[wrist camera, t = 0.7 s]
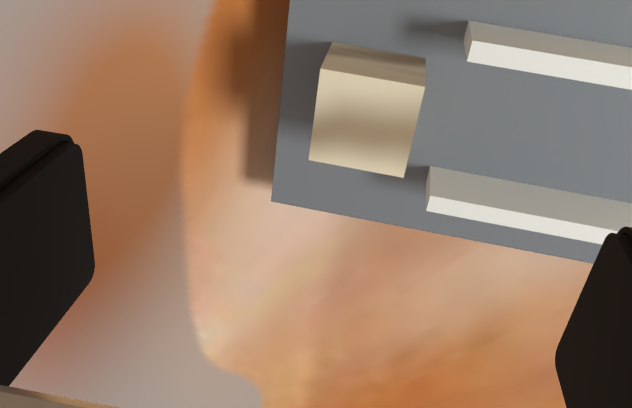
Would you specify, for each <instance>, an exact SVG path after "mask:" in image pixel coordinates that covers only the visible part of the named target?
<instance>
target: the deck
mask: <svg viewBox="0 0 632 408" xmlns="http://www.w3.org/2000/svg"><path fill="white" fill-rule="evenodd" d="M332 42H336V43H342V44H348V45H354V46H359V47H365V48H371V49H377V50H383V51H388V52H394V53H400V54H406V55H412V56H417V57H423V58H426V71H425V90H424V94H423V98H422V103H421V107H420V111H419V115H418V119H417V124H416V128H415V132H414V136H413V140H412V145H411V149H410V153H409V157H408V161H407V166H406V170H405V174H404V178H402V177H396V176H391V175H386V174H380V173H375V172H370V171H364V170H359V169H354V168H348V167H343V166H338V165H332V164H327V163H322V162H316V161H311V160H309V152H310V145H311V137H312V129H313V121H314V114H315V106H316V98H317V91H318V83H319V75H320V68H321V66H322V64H323V62H324V59H325V57H326V55H327V53H328V51H329V48H330V46H331V44H332ZM271 201H272V202H277V203H282V204H287V205H292V206H298V207H303V208H308V209H313V210H318V211H324V212H329V213H334V214H339V215H344V216H349V217H355V218H360V219H365V220H370V221H375V222H381V223H386V224H391V225H396V226H401V227H406V228H412V229H417V230H422V231H427V232H432V233H437V234H443V235H448V236H453V237H458V238H463V239H469V240H474V241H479V242H484V243H489V244H494V245H500V246H505V247H510V248H515V249H520V250H526V251H531V252H536V253H541V254H546V255H551V256H557V257H562V258H567V259H572V260H577V261H583V262H588V263H593V264H594V262H595V260H596V258H597V255H598V253H599V251H600V248H601V246H602V244H603V242H604V240H605V238H606V236H607V235H608V234H609V233H618V231H619V230H620V229H621V228H623V227H625V226H626V227H632V0H290V4H289V14H288V25H287V36H286V47H285V57H284V68H283V79H282V90H281V100H280V111H279V122H278V133H277V143H276V154H275V165H274V176H273V186H272V197H271Z"/></svg>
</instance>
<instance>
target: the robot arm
mask: <svg viewBox="0 0 632 408" xmlns="http://www.w3.org/2000/svg"><path fill="white" fill-rule="evenodd" d="M94 268H95V262H94V253H93V243H92V234H91V226H90V217H89V208H88V199H87V191H86V182H85V173H84V164H83V155H82V150H81V148H80V146H79V145H77V144H74V142H73V140H72V138H71V137H70V136H69V135H66V134H59V133H53V132H47V131H41V130H35V131H32V132H31V133H29V134H28V135H26V136H25V137H23V138H22V139H21V140H19V141H18V142H16V143H15V144H13V145H12V146H11V147H9V148H8V149H6V150H5V151H3V152H2V153H1V154H0V408H117V407H112V406H107V405H102V404H97V403H91V402H86V401H81V400H76V399H70V398H66V397H60V396H55V395H50V394H45V393H40V392H34V391H29V390H24V389H19V388H14V387H9V385H10V384H11V383H12V381H13V380H14V379H15V378H16V376H17V375H18V374H19V372H20V371H21V370H22V369H23V367H24V366H25V365H26V363H27V362H28V361H29V360H30V358H31V357H32V356H33V354H34V353H35V352H36V351H37V349H38V348H39V347H40V346H41V344H42V343H43V342H44V340H45V339H46V338H47V337H48V335H49V334H50V333H51V331H52V330H53V329H54V327H55V326H56V325H57V324H58V322H59V321H60V320H61V319H62V317H63V316H64V315H65V313H66V312H67V311H68V310H69V308H70V307H71V306H72V304H73V303H74V302H75V300H76V299H77V298H78V297H79V295H80V294H81V293H82V292H83V290H84V289H85V288H86V286H87V285H88V284H89V282H90V281H91V279H92V276H93V273H94ZM555 366H556V371H557V374H558V378H559V382H560V385H561V389H562V392H563V396H564V400H565V403H566V407H567V408H632V227H626V226H625V227H623V228H621V229H620V230H619V231H618V233H609V234H608V235H607V236H606V238H605V240H604V242H603V244H602V246H601V248H600V251H599V253H598V255H597V258H596V260H595V262H594V264H593V267H592V269H591V271H590V274H589V276H588V278H587V280H586V283H585V285H584V287H583V290H582V292H581V294H580V297H579V299H578V301H577V303H576V306H575V308H574V310H573V313H572V315H571V317H570V319H569V322H568V324H567V326H566V329H565V331H564V333H563V335H562V338H561V340H560V342H559V345H558V347H557V350H556V356H555Z"/></svg>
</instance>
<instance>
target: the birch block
mask: <svg viewBox="0 0 632 408" xmlns="http://www.w3.org/2000/svg"><path fill="white" fill-rule="evenodd" d="M425 71H426V58H423V57H417V56H412V55H406V54H400V53H394V52H388V51H383V50H377V49H371V48H365V47H359V46H354V45H348V44H342V43H336V42H332V44H331V46H330V48H329V51H328V53H327V55H326V57H325V59H324V62H323V64H322V66H321V68H320V75H319V83H318V91H317V98H316V106H315V114H314V121H313V129H312V137H311V145H310V152H309V160H311V161H316V162H322V163H327V164H332V165H338V166H343V167H348V168H354V169H359V170H364V171H370V172H375V173H380V174H386V175H391V176H396V177H402V178H404V174H405V170H406V166H407V161H408V157H409V153H410V149H411V145H412V140H413V136H414V132H415V128H416V124H417V119H418V115H419V111H420V107H421V103H422V98H423V94H424V90H425Z"/></svg>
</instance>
